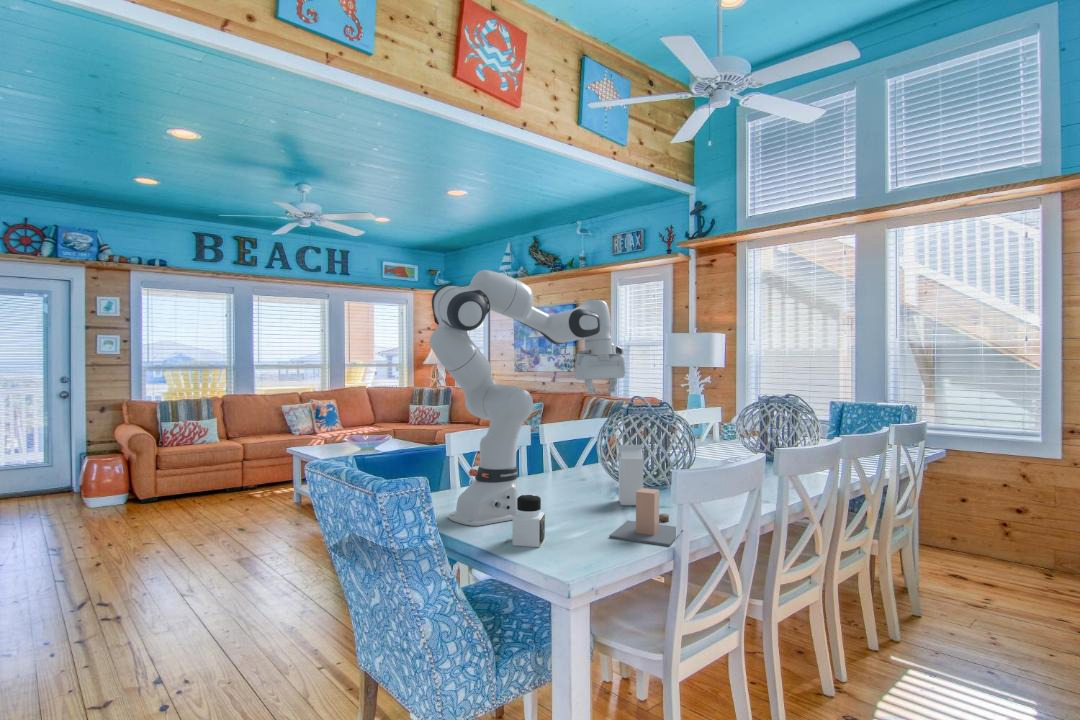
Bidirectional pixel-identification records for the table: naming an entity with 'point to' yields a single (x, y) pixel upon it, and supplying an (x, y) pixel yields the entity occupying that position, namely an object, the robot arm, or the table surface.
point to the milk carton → (630, 473)
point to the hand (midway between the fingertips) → (602, 393)
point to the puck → (663, 517)
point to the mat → (628, 532)
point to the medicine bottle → (528, 522)
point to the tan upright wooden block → (647, 511)
